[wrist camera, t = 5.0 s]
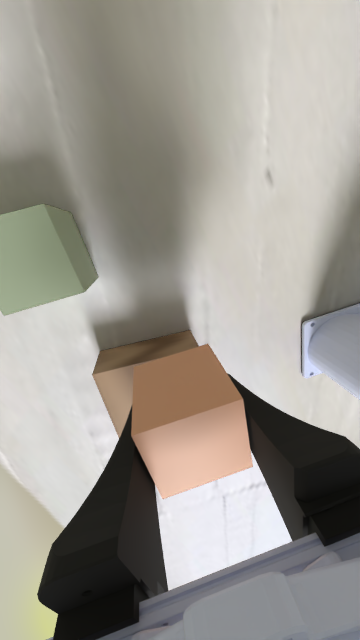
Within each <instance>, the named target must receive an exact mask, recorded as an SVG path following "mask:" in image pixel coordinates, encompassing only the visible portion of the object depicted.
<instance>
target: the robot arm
mask: <svg viewBox="0 0 360 640" xmlns="http://www.w3.org/2000/svg"><path fill="white" fill-rule="evenodd" d="M311 323H312V324H311ZM321 373H324V374H326V375H327V376H328V377H330V378H331V379H332V380H334V381H335V382H336V383H338V384H339V385H340V386H342V387H343V388H344V389H346V390H347V391H348V392H350V393H351V394H352V395H354V396H355V397H356V398H358V399H359V400H360V303H359V304H356V305H353V306H350V307H347V308H344V309H341V310H338V311H335V312H332V313H328V314H325V315H322V316H319V317H316V318H313V319H310V320H307V321H305V322H304V323H303V324H302V376H303V377H304V378H309V377H312V376H315V375H318V374H321ZM228 376H229V377H230V379H231V381H232V382H233V384H234V385H235V387H236V388H237V390H238V392H239V393H240V395H241V396H242V398H243V402H244V409H245V416H246V423H247V430H248V437H249V444H250V449H251V451H252V453H253V455H254V457H255V459H256V461H257V463H258V466H259V468H260V470H261V472H262V474H263V476H264V478H265V480H266V483H267V485H268V487H269V489H270V491H271V493H272V496H273V498H274V500H275V502H276V505H277V507H278V509H279V511H280V513H281V516H282V518H283V520H284V523H285V525H286V527H287V529H288V532H289V534H290V536H291V539H292V541H293V542H290V543H288V544H285V545H283V546H280V547H278V548H275V549H273V550H270V551H268V552H265V553H263V554H260V555H257V556H255V557H252V558H250V559H247V560H245V561H242V562H240V563H237V564H235V565H232V566H230V567H227V568H225V569H222V570H220V571H217V572H215V573H212V574H210V575H207V576H205V577H202V578H200V579H197V580H195V581H192V582H190V583H187V584H185V585H182V586H180V587H177V588H175V589H172V590H170V591H168V586H167V579H166V572H165V565H164V558H163V551H162V543H161V536H160V528H159V520H158V511H157V502H156V493H155V483H154V481H153V479H152V477H151V475H150V473H149V471H148V469H147V467H146V465H145V463H144V461H143V459H142V457H141V455H140V453H139V450H138V448H137V446H136V444H135V442H134V440H133V438H132V436H131V430H132V406H131V409H130V412H129V415H128V418H127V420H126V423H125V426H124V428H123V431H122V433H121V436H120V438H119V441H118V443H117V445H116V447H115V449H114V452H113V454H112V456H111V458H110V460H109V462H108V464H107V465H106V467H105V469H104V471H103V473H102V474H101V476H100V478H99V479H98V481H97V483H96V484H95V486H94V488H93V489H92V491H91V492H90V494H89V495H88V497H87V498H86V500H85V501H84V503H83V504H82V506H81V507H80V509H79V510H78V512H77V513H76V514H75V516H74V517H73V518H72V520H71V521H70V522H69V524H68V525H67V526H66V527H65V529H64V530H63V531H62V533H61V534H60V535H59V537H58V538H57V539H56V540H55V542H54V543H53V544H52V547H51V550H50V552H49V556H48V558H47V562H46V565H45V569H44V572H43V576H42V579H41V583H40V587H39V590H38V594H37V595H38V599H39V601H40V602H41V603H42V604H43V605H45V606H46V607H48V608H49V609H51V610H53V611H54V612H56V613H57V614H58V618H57V622H56V627H55V633H54V637H52V638H49V639H47V640H360V449H359V448H358V447H357V446H356V445H355V444H353V443H352V442H351V441H350V440H348V439H347V438H346V437H344V436H341V435H338V434H335V433H332V432H329V431H326V430H323V429H320V428H318V427H315V426H313V425H310V424H308V423H306V422H303V421H301V420H299V419H297V418H294V417H292V416H290V415H288V414H286V413H284V412H282V411H281V410H279V409H277V408H275V407H273V406H272V405H270V404H268V403H267V402H265V401H264V400H262V399H261V398H259V397H258V396H256V395H255V394H253V393H252V392H251V391H249V390H248V389H247V388H245V387H244V386H243V385H241V384H240V383H239V382H238V381H237V380H235V379H234V378H233V377H232V376H231V375H230V374H228Z"/></svg>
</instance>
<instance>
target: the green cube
mask: <svg viewBox="0 0 360 640" xmlns="http://www.w3.org/2000/svg"><path fill="white" fill-rule="evenodd" d="M97 278H98V275H97V273H96V270H95V268H94V266H93V263H92V261H91V259H90V256H89V254H88V251H87V249H86V247H85V244H84V242H83V240H82V237H81V235H80V233H79V230H78V228H77V225H76V223H75V221H74V218H73V216H72V214H71V212H68V211H65V210H62V209H59V208H55V207H52V206H49V205H46V204H40V205H36V206H32V207H28V208H25V209H21V210H17V211H13V212H9V213H5V214H2V215H0V311H1V312H2V314H3V315H4V316H5V315H9V314H12V313H15V312H19V311H22V310H26V309H29V308H32V307H36V306H39V305H43V304H46V303H49V302H53V301H56V300H60V299H63V298H66V297H70V296H73V295H77V294H80V293H83V292H85V291H86V290H87V289H88V288H89V287H90V286H91V285H92V284H93V283H94V282H95V280H96V279H97Z"/></svg>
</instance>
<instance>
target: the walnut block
mask: <svg viewBox="0 0 360 640" xmlns="http://www.w3.org/2000/svg"><path fill="white" fill-rule="evenodd" d="M196 347H199V346H198V344H197V342H196V340H195V338H194V337H193V335H192V333H191V331H190V330H188V331H184V332H179V333H175V334H171V335H167V336H162V337H158V338H154V339H150V340H145V341H141V342H137V343H133V344H128V345H124V346H120V347H116V348H111V349H107V350H103V351H100V353H99V356H98V359H97V362H96V365H95V368H94V371H93V374H92V375H93V378H94V380H95V382H96V385H97V387H98V389H99V392H100V394H101V396H102V399H103V401H104V404H105V406H106V408H107V411H108V413H109V415H110V418H111V420H112V422H113V425H114V427H115V430H116V432H117V434H118V437H119V438H120V436H121V433H122V431H123V428H124V426H125V423H126V420H127V418H128V415H129V412H130V409H131V406H132V402H133V373H134V366H137V365H141V364H144V363H147V362H150V361H154V360H157V359H160V358H163V357H167V356H170V355H173V354H176V353H180V352H183V351H186V350H189V349H193V348H196Z"/></svg>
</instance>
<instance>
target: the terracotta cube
mask: <svg viewBox="0 0 360 640" xmlns="http://www.w3.org/2000/svg"><path fill="white" fill-rule="evenodd" d="M131 436H132V438H133V440H134V442H135V444H136V446H137V448H138V450H139V453H140V455H141V457H142V459H143V461H144V463H145V465H146V467H147V469H148V471H149V473H150V475H151V477H152V479H153V481H154V483H155V485H156V487H157V489H158V491H159V493H160V495H161V497H162V499H165V498H168V497H170V496H173V495H176V494H179V493H181V492H184V491H187V490H190V489H193V488H195V487H198V486H201V485H204V484H206V483H209V482H212V481H215V480H217V479H220V478H223V477H226V476H228V475H231V474H234V473H237V472H240V471H242V470H245V469H248V468H251V467H253V465H252V458H251V451H250V444H249V437H248V430H247V423H246V416H245V409H244V402H243V398H242V396H241V395H240V393H239V392H238V390H237V388H236V387H235V385H234V384H233V382H232V381H231V379H230V377H229V376H228V374H227V373H226V371H225V370H224V368H223V366H222V365H221V363H220V362H219V360H218V359H217V357H216V355H215V354H214V352H213V351H212V349H211V348H210V346H209V345H208V344H206V345H202V346H199V347H196V348H193V349H189V350H186V351H183V352H180V353H176V354H173V355H170V356H167V357H163V358H160V359H157V360H154V361H150V362H147V363H144V364H141V365H137V366H134V373H133V402H132V430H131Z"/></svg>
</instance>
